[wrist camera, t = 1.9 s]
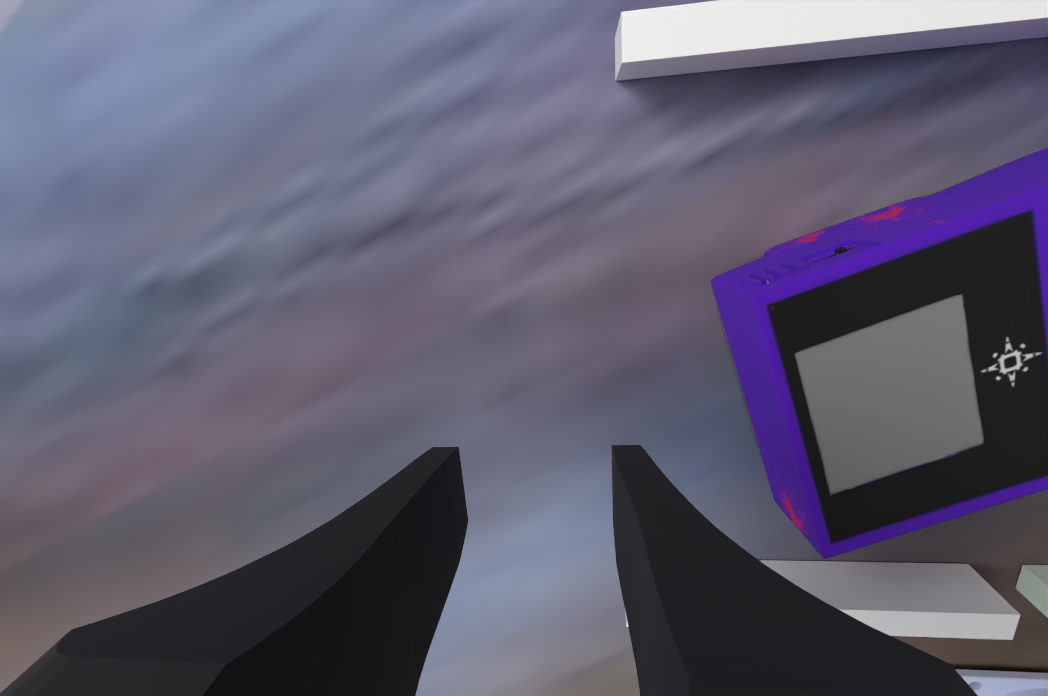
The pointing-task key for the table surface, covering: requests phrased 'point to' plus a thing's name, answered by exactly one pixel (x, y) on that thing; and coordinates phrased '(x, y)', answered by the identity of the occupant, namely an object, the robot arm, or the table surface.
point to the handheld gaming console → (900, 359)
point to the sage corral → (1035, 585)
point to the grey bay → (818, 34)
